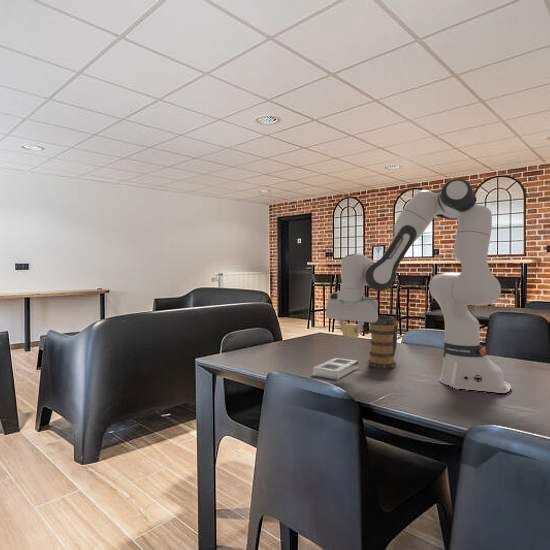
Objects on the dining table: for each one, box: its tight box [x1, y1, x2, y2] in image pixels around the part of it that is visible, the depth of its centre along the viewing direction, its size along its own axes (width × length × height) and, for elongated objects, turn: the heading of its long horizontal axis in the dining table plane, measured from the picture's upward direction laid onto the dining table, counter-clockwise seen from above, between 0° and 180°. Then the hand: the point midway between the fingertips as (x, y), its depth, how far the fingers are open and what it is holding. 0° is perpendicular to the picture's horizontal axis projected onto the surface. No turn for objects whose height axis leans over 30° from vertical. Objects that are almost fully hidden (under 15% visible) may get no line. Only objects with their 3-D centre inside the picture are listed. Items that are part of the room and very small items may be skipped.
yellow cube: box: [342, 323, 360, 339], centre depth 156 cm, size 4×4×4 cm
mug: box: [366, 315, 399, 370], centre depth 171 cm, size 13×17×20 cm
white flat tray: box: [312, 357, 359, 381], centre depth 159 cm, size 10×20×3 cm, turn 147°
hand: (350, 332), depth 156 cm, fingers closed on yellow cube, 4 cm apart
